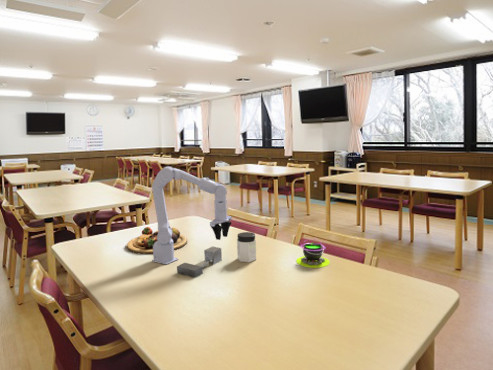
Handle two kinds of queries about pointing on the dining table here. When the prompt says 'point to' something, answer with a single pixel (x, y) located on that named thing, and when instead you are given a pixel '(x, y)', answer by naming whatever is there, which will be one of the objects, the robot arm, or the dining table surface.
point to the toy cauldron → (312, 256)
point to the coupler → (192, 269)
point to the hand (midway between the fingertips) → (221, 237)
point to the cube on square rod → (213, 254)
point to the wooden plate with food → (153, 241)
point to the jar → (246, 247)
